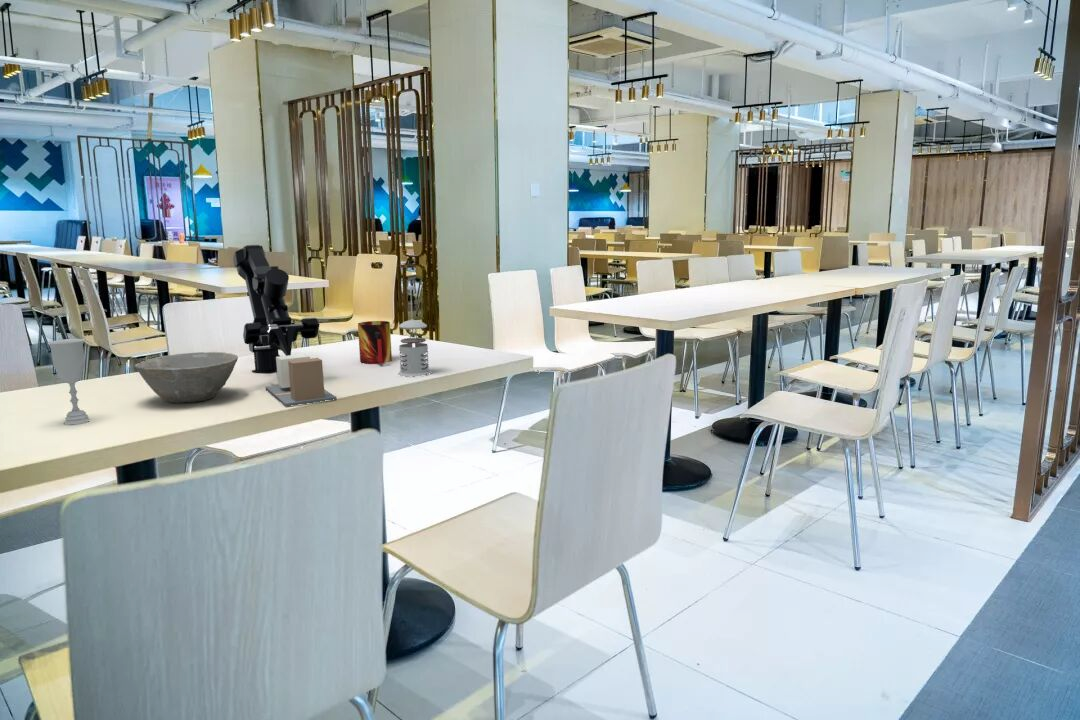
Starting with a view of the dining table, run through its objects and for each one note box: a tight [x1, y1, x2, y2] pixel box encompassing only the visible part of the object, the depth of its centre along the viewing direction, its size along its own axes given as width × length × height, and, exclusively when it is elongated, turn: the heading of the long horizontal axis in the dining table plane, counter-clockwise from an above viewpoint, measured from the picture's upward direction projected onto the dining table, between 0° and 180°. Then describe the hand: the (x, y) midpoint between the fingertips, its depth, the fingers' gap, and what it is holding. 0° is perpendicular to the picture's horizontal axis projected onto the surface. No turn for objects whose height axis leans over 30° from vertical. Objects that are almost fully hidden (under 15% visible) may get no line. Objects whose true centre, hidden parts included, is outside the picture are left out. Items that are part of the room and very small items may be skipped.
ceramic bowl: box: [134, 351, 239, 404], centre depth 183 cm, size 22×23×10 cm
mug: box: [357, 320, 393, 365], centre depth 228 cm, size 10×14×12 cm
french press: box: [397, 285, 432, 378], centre depth 209 cm, size 10×12×25 cm
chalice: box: [47, 338, 91, 425], centre depth 163 cm, size 7×7×18 cm
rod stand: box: [265, 357, 337, 407], centre depth 186 cm, size 22×12×10 cm, turn 32°
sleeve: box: [276, 353, 311, 388], centre depth 189 cm, size 5×7×7 cm
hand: (289, 355), depth 192 cm, fingers closed
